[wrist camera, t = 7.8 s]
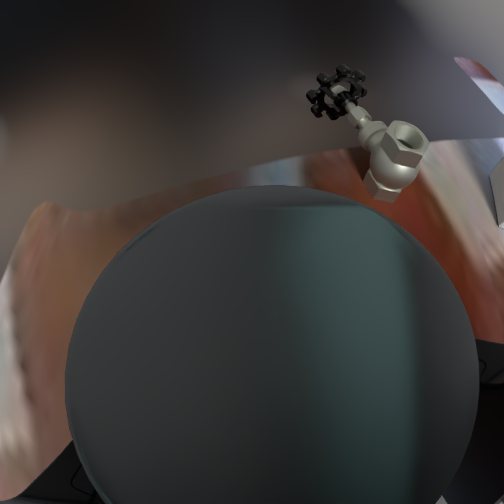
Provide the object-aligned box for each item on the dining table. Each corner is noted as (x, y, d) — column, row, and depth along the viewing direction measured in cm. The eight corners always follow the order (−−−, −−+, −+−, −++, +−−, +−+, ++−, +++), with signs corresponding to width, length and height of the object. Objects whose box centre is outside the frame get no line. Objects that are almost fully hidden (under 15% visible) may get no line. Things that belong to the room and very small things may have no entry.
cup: (328, 427, 13) (505, 473, 3) (215, 457, 13) (136, 597, 2) (296, 323, 16) (391, 161, 5) (187, 350, 15) (53, 236, 4)
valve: (419, 196, 26) (354, 110, 31) (451, 150, 20) (369, 62, 25) (364, 215, 25) (301, 119, 30) (392, 165, 19) (310, 66, 24)
